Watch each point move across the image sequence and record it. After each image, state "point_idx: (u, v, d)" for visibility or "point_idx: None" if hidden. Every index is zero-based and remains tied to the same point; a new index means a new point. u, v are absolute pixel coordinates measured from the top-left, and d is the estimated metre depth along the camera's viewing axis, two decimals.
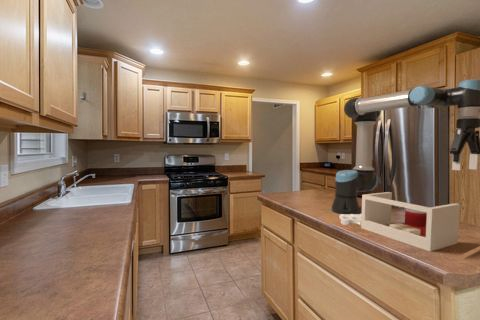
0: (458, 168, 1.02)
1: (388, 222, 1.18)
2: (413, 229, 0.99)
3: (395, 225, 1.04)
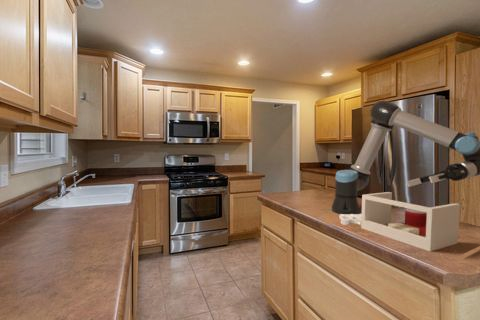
0: (433, 181, 1.05)
1: (388, 222, 1.18)
2: (412, 228, 1.00)
3: (394, 224, 1.04)
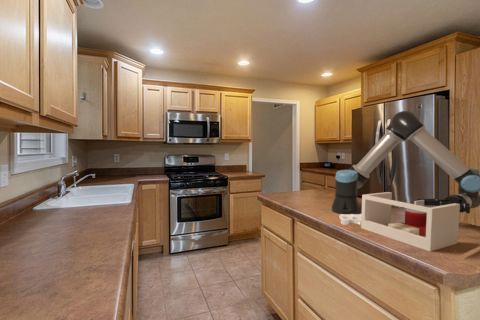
0: None
1: (388, 222, 1.18)
2: (412, 228, 1.00)
3: (394, 224, 1.04)
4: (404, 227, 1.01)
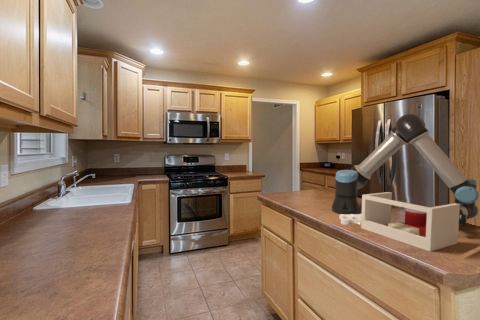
0: None
1: (388, 222, 1.18)
2: (412, 228, 1.00)
3: (394, 224, 1.04)
4: (404, 227, 1.01)
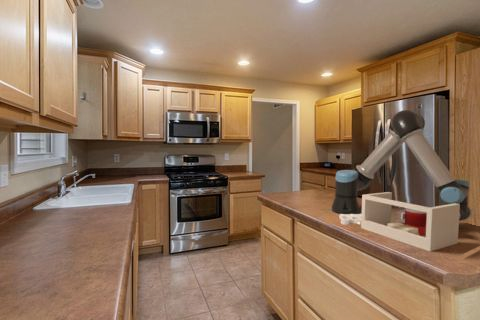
0: None
1: (388, 222, 1.18)
2: (411, 228, 1.00)
3: (393, 224, 1.05)
4: (403, 227, 1.01)
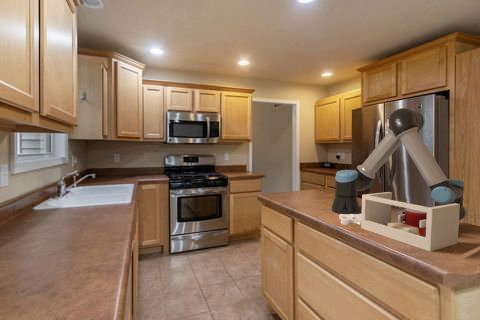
0: (422, 226, 1.01)
1: (388, 222, 1.18)
2: (411, 228, 1.00)
3: (393, 224, 1.05)
4: (403, 226, 1.01)
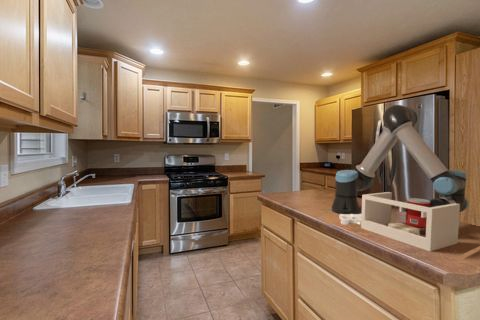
0: (424, 216, 1.00)
1: (388, 222, 1.18)
2: (412, 228, 1.00)
3: (394, 224, 1.04)
4: (404, 227, 1.01)
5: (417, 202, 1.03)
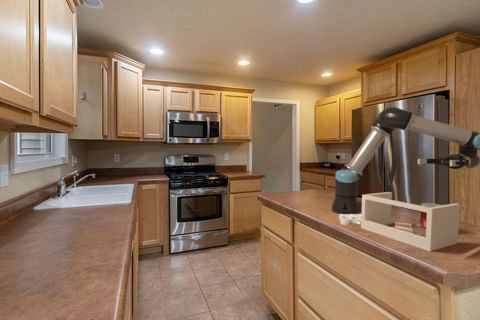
0: (452, 165, 1.15)
1: (388, 222, 1.18)
2: (405, 228, 1.00)
3: (397, 223, 1.06)
4: (400, 226, 1.03)
5: None
